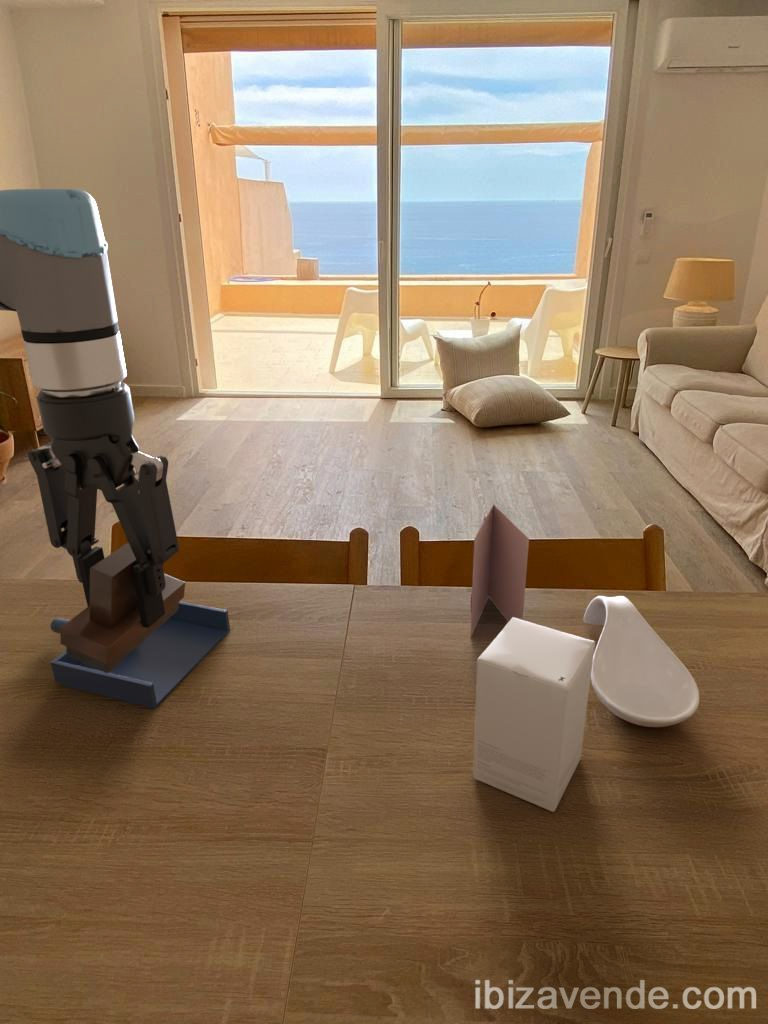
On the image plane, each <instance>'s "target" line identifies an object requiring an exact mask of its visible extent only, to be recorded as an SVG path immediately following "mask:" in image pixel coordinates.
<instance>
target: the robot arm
mask: <svg viewBox="0 0 768 1024" xmlns="http://www.w3.org/2000/svg"><path fill="white" fill-rule="evenodd" d="M97 205H98V204H97V203H96V200H95V199H94V197H93V196H92V195H91V193H88V192H87V191H85V190H83V189H80V188H18V189H17V188H14V189H1V190H0V311H7V312H16V314H17V318H18V323H19V325H20V332H21V335H22V336H21V337H22V339H23V343H24V348H25V353H26V358H27V363H28V368H29V372H30V377H31V382H32V386H33V387H35V388H36V389H39V390H40V391H39V392H38V394H37V396H36V398H35V399H36V403H37V406H38V407H37V408H38V411H39V415H40V421H41V425H42V429H43V432H44V434H46V435H47V436H48V437H49V438H51V442H49V443H46V444H44V445H41V446H40V447H37V448H34V449H32V450H30V451H28V453H27V458H28V461H29V463H30V464H31V467H32V468H33V471H34V473H35V475H36V479H37V482H38V487H39V492H40V497H41V498H40V499H41V503H42V507H43V512H44V519H45V522H46V527H47V533H48V536H49V542H50V544H51V546H52V547H53V548H56V549H59V548H63V549H65V550H66V551H67V553H68V554H69V556H71V557H72V561H73V565H74V570H75V574H76V579H77V580H78V582H79V583H81V584H82V588H83V593H84V597H85V600H86V601H85V602H86V605H87V607H88V606H90V568H91V567H92V566H94V565H95V564H97V563H98V562H100V561H101V560H103V559H104V558H105V554H104V549H103V547H102V546H94V545H96V544H97V543H99V542H100V538H97V537H96V522H97V521H96V519H97V501H98V490H100V491H101V493H102V495H103V498H104V500H105V501H106V502H107V503H110V504H111V505H112V507H113V510H114V512H115V515H116V517H117V519H118V521H119V524H120V526H121V528H122V531H123V533H124V535H125V538H126V539H127V543H128V542H129V544H130V547H131V549H132V551H133V553H134V556H135V558H136V560H137V564H136V565H134V566H133V567H132V568H131V570H132V575H133V580H134V586H135V591H136V596H137V602H138V607H139V612H140V618H141V623H142V627H146V628H149V627H150V626H152V625H153V624H154V623H155V622H156V621H157V620H158V619H160V618H161V617H162V616H163V615H164V614H165V609H164V603H163V597H162V591H163V590H164V589H165V586H166V583H165V577H164V574H165V571H164V564H165V563H166V562H167V561H169V560H170V559H171V558H173V557H174V556H176V555H177V554H178V553H179V552H180V546H179V542H178V541H179V540H178V536H177V531H176V526H175V520H174V515H173V510H172V505H171V498H170V493H169V487H168V483H167V476H168V469H169V460H168V458H167V457H166V456H165V455H162V454H160V455H157V456H156V457H152V456H151V455H148V454H146V453H143V452H141V450H140V447H139V445H138V444H137V442H136V440H135V438H134V436H133V428H134V425H135V420H136V419H135V413H134V406H133V401H132V395H131V389H130V387H129V385H127V383H125V382H123V381H124V380H125V379H126V377H127V375H128V374H127V368H126V362H125V356H124V350H123V345H122V338H121V333H120V326H119V323H118V319H119V318H118V314H117V308H116V302H115V295H114V289H113V282H112V276H111V270H110V264H109V258H108V242H107V241H106V239H105V236H104V231H103V227H102V222H101V219H100V214H99V210H98V206H97ZM134 469H135V470H134ZM62 529H63V530H62ZM93 546H94V547H93ZM148 550H149V551H148ZM162 564H163V565H162Z"/></svg>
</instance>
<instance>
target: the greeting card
mask: <svg viewBox="0 0 768 1024" xmlns="http://www.w3.org/2000/svg"><path fill="white" fill-rule="evenodd" d="M529 545H530V538H529V537H528V536H527V535H526V534H525V533H524V532H523V531H522V530H520V529H519V528H518V526H517V525H515V524H514V522H512V520H511V519H509V517H507V515H506V514H504V512H502V511H501V510H500V508H498V506H496V505H495V504H494V503H493V504H492V505H491V508H490V509H489V511H488V513H487V515H486V516H485V515H484V517H483V520H482V523H481V525H480V527H479V529H478V531H477V533H476V535H475V537H474V540H473V560H472V561H473V562H472V565H473V566H472V583H471V585H472V586H471V596H470V630H469V631H470V632H469V633H470V634H469V638H471V637H472V635H473V633H474V630H475V628H476V626H477V624H478V622H479V619H480V616H481V614H482V612H483V610H484V608H485V605H486V603H487V601H488V598H489V599H490V600H491V601H492V602H493V604H494V605H495V607H496V608H497V609H498V611H499V612H500V613H501V614H502V616H503V617H504V618H505V619H506V621H507V623H508V622H509V621H510V620H511V619H512V617H515V618H518V619H521V620H524V607H525V596H526V583H527V570H528V569H527V568H528V559H529V558H528V556H529Z"/></svg>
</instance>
